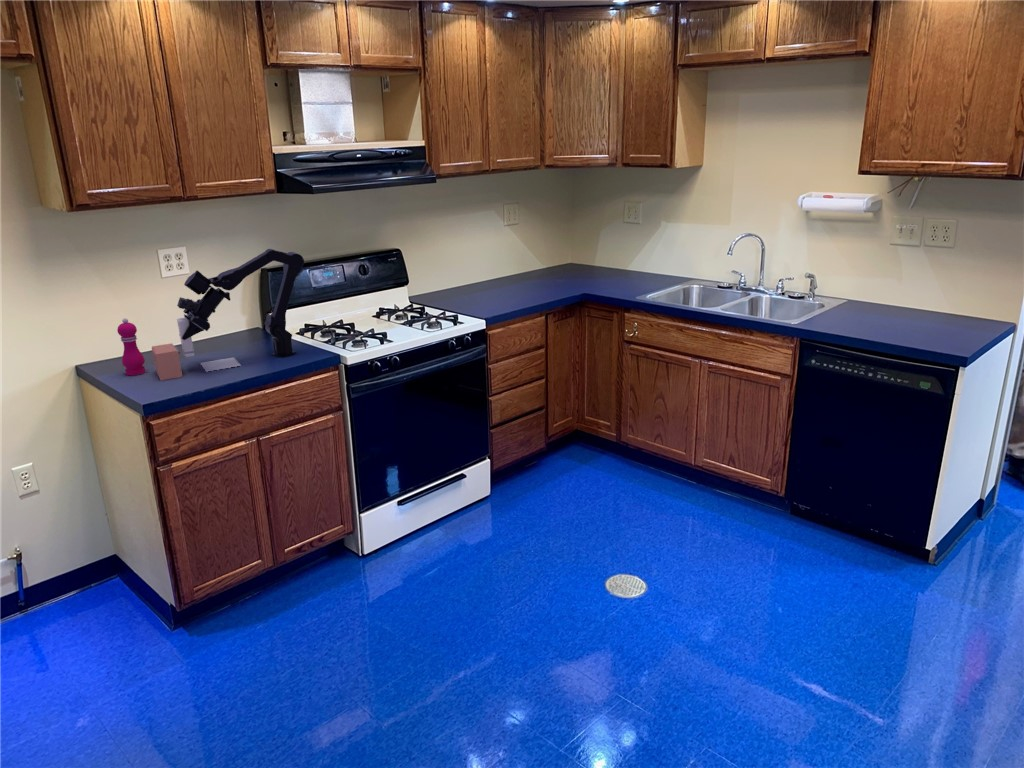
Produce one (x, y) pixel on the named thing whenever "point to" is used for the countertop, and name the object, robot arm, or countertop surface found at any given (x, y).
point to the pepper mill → (130, 349)
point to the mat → (220, 364)
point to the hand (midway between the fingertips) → (181, 337)
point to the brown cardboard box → (167, 361)
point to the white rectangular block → (186, 344)
